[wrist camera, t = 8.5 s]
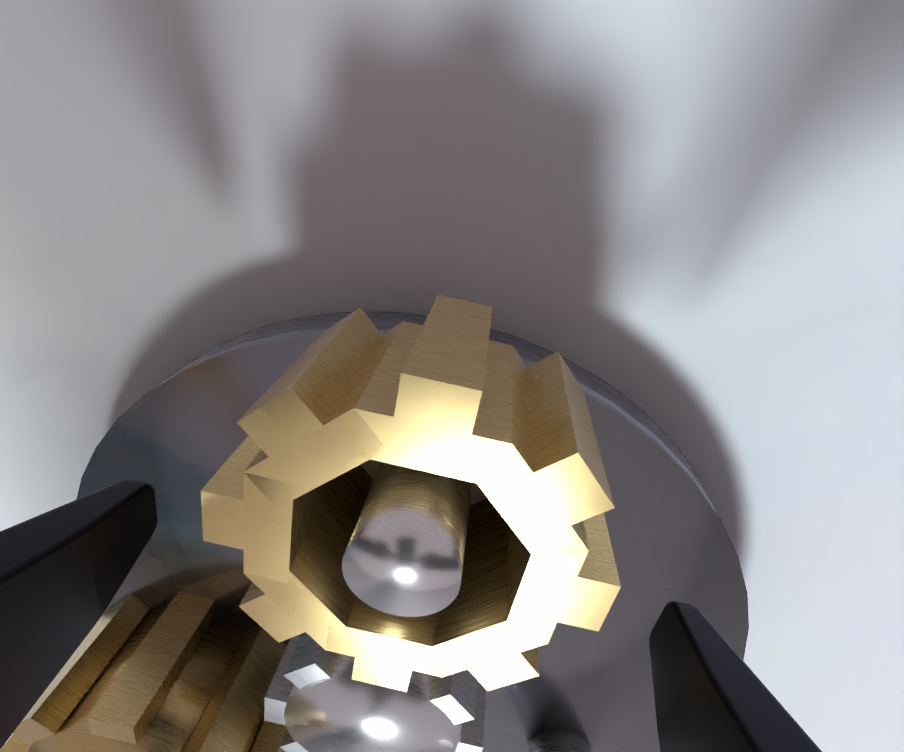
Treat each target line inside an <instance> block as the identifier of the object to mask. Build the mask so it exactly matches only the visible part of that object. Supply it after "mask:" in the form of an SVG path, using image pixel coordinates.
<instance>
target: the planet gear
mask: <svg viewBox="0 0 904 752" xmlns="http://www.w3.org/2000/svg"><path fill="white" fill-rule="evenodd" d="M492 310H493V307H492V306H488V305H483V304H479V303H474V302H470V301H465V300H460V299H456V298H451V297H447V296H442V295H438V294H437V297H436V299H435V301H434V303H433V305H432V307H431V310H430V312H429V314H428V316H427V318H426V320H425V322H424V325H418V324H414V323H409V322H405V321H403V322H401V323H400V324H398V325H397V326H395V327H393V328H392V329H390V330H389V331H387V332H385V333H384V334H382V335H381V333H380V332H379V331H378V329H377V328H376V327H375V325H374V324H373V323H372V321H371V320H370V319H369V317H368V316H367V315H366V313H365V312H364V311H363V309H362V308H361V307H360V308H359V309H357V310H356V311H354V312H353V313H351V314H350V315H348V316H347V317H345V318H344V319H342V320H341V321H339V322H338V323H336V324H335V325H333V326H332V327H330V328H329V329H327V330H326V331H324V332H323V333H321V334H320V335H319V336H318V337H317V338H316V339H315V340H314V341H313V342H312V343H311V344H310V345H309V346H308V348H307V349H306V350H305V351H304V352H303V353H302V354H301V355H300V356H299V357H298V358H297V359H296V360H295V361H294V362H293V363H292V364H291V365H290V367H289V368H288V369H287V370H286V371H285V372H284V373H283V374H282V375H281V376H280V377H279V378H278V379H277V380H276V381H275V382H274V383H273V384H272V386H271V387H270V388H269V389H268V390H267V391H266V392H265V393H264V394H263V395H262V396H261V397H260V398H259V399H258V400H257V401H256V402H255V403H254V405H253V406H252V407H251V408H250V409H249V410H248V411H247V412H246V413H245V414H244V415H243V416H242V417H241V418H240V419H239V420H238V421H237V423H238V424H239V426H240V427H241V428H242V429H243V430H244V431H245V432H246V433H247V434H248V437H247V438H246V439H245V440H244V441H243V442H242V443H241V445H240V446H239V447H238V448H237V449H236V450H235V452H234V453H233V454H232V455H231V456H230V457H229V458H228V460H227V461H226V462H225V463H224V464H223V465H222V467H221V468H220V469H219V470H218V471H217V472H216V473H215V475H214V476H213V477H212V478H211V479H210V480H209V481H208V483H207V484H206V485H205V486H204V487H203V488H202V490H201V509H202V528H203V541H207V542H211V543H215V544H220V545H224V546H228V547H233V548H237V549H242V550H243V556H244V574H245V575H246V576H247V577H248V578H249V579H250V580H251V581H252V584H251V586H250V587H249V589H248V591H247V592H246V594H245V596H244V598H243V599H242V601H241V603H240V605H239V607H240V608H241V609H242V610H243V611H244V612H245V613H247V614H248V615H249V616H250V617H251V618H252V619H253V620H254V621H255V622H257V623H258V624H259V625H260V626H261V627H262V628H263V629H264V630H265V631H266V632H268V633H269V634H270V635H271V636H272V637H273V638H274V639H275V640H276V641H278V642H282V641H284V640H287V639H289V638H292V637H294V636H297V635H299V634H302V633H304V632H306V633H307V634H308V635H310V636H311V637H312V638H313V639H314V640H315V641H316V642H317V643H318V644H319V645H320V646H321V647H322V648H323V649H324V650H326V651H331V652H335V653H339V654H344V655H348V656H352V657H355V660H354V667H353V673H352V680H357V681H361V682H365V683H370V684H374V685H378V686H382V687H387V688H391V689H395V690H400V691H404V692H407V689H408V685H409V681H410V677H411V673H412V670H413V671H417V672H421V673H425V674H430V675H434V676H438V677H445V676H448V675H451V674H454V673H458V672H461V671H464V670H468V671H469V672H470V673H471V674H472V675H473V676H474V677H475V678H476V679H477V680H478V681H479V682H480V683H481V685H482V686H483V687H484V688H485V689H486V690H487V691H490V690H494V689H497V688H500V687H504V686H507V685H510V684H514V683H517V682H521V681H524V680H527V679H531V678H534V677H537V676H539V656H538V647H539V646H542V645H545V644H548V642H549V640H550V638H551V635H552V633H553V631H554V629H555V626H556V624H557V622H559V623H563V624H568V625H572V626H576V627H581V628H585V629H589V630H594V631H599V629H600V627H601V625H602V624H603V622H604V620H605V618H606V616H607V614H608V612H609V610H610V608H611V606H612V604H613V602H614V600H615V598H616V596H617V594H618V592H619V590H620V588H621V585H620V580H619V576H618V572H617V567H616V563H615V559H614V555H613V550H612V546H611V542H610V537H609V533H608V529H607V524H606V520H605V516H604V512H606V511H609V510H611V509H613V508H615V507H614V503H613V499H612V496H611V492H610V488H609V484H608V480H607V477H606V473H605V469H604V465H603V462H602V458H601V454H600V450H599V446H598V443H597V439H596V435H595V431H594V428H593V424H592V420H591V416H590V412H589V409H588V405H587V401H586V397H585V394H584V392H583V390H582V388H581V387H580V385H579V384H578V382H577V380H576V379H575V377H574V376H573V374H572V372H571V371H570V369H569V368H568V366H567V364H566V363H565V361H564V360H563V358H562V356H561V355H560V353H559V352H558V351H557V352H555V353H553V354H551V355H550V356H548V357H546V358H544V359H542V360H540V361H538V362H536V363H535V364H533V365H531V366H529V367H527V366H526V364H525V363H524V361H523V360H522V358H521V357H520V355H519V354H518V352H517V351H516V349H515V348H514V346H513V345H508V344H504V343H499V342H495V341H490V340H489V334H490V326H491V318H492ZM370 459H371V460H375V461H380V462H384V463H388V464H393V465H397V466H402V467H406V468H411V469H415V470H419V471H424V472H428V473H433V474H437V475H441V476H446V477H450V478H455V479H459V480H464V481H468V482H472V483H477V485H478V486H479V487H480V488H481V490H482V491H483V492H484V494H485V495H486V496H487V497H488V498H486V499H484V500H481V501H479V502H477V503H475V504H473V505H470V510H469V519H468V527H467V535H466V544H465V552H464V561H463V569H462V578H461V585H460V590H459V592H458V595H457V596H456V598H455V599H454V600H453V602H452V603H451V604H450V605H448V606H447V607H446V608H444V609H442V610H441V611H438V612H436V613H433V614H430V615H426V616H420V617H403V616H396V615H391V614H388V613H385V612H382V611H379V610H377V609H375V608H373V607H371V606H369V605H368V604H366V603H365V602H363V601H362V600H360V599H359V598H358V597H357V596H356V595H355V594H354V593H353V592H352V591H351V589H350V588H349V586H348V585H347V583H346V581H345V579H344V576H343V572H342V559H343V556H344V553H345V551H346V548H347V546H348V543H349V541H350V538H351V536H352V533H353V531H354V528H355V526H356V523H357V521H358V518H359V516H360V513H361V511H362V508H363V506H364V503H365V501H366V498H367V496H368V493H369V491H370V488H371V486H372V483H373V481H374V480H373V479H372V478H371V476H370V475H369V474H368V473H367V472H366V471H365V469H364V468H363V467H362V466H361V465H360V464H362V463H364V462H366V461H368V460H370Z"/></svg>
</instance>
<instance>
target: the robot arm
mask: <svg viewBox="0 0 904 752" xmlns="http://www.w3.org/2000/svg"><path fill="white" fill-rule="evenodd" d="M157 522H158V515H157V506H156V498H155V490H154V487H153V486H152V485H151V484H149V483H146V482H141V481H137V480H132V479H127V480H123V481H121V482H118V483H116V484H113V485H111V486H109V487H106V488H104V489H101V490H99V491H97V492H94V493H92V494H89V495H87V496H85V497H82V498H80V499H77V500H75V501H73V502H70V503H68V504H65V505H63V506H60V507H58V508H56V509H53V510H51V511H48V512H46V513H44V514H41V515H39V516H36V517H34V518H32V519H29V520H27V521H24V522H22V523H20V524H17V525H15V526H12V527H10V528H8V529H5V530H3V531H0V749H1V748H2V747H3V745H4V744H5V743H6V741H7V740H8V739H9V737H10V736H11V735H12V733H13V732H14V731H15V729H16V728H17V727H18V726H19V724H20V723H21V722H22V720H23V719H24V718H25V716H26V715H27V714H28V712H29V711H30V710H31V708H32V707H33V706H34V705H35V703H36V702H37V701H38V699H39V698H40V697H41V695H42V694H43V693H44V691H45V690H46V689H47V687H48V686H49V685H50V684H51V682H52V681H53V680H54V678H55V677H56V676H57V674H58V673H59V672H60V670H61V669H62V668H63V666H64V665H65V664H66V663H67V661H68V660H69V659H70V657H71V656H72V655H73V653H74V652H75V651H76V649H77V648H78V647H79V645H80V644H81V643H82V642H83V640H84V639H85V638H86V636H87V635H88V634H89V632H90V631H91V630H92V628H93V627H94V626H95V624H96V623H97V622H98V620H99V619H100V617H101V616H102V615H103V613H104V612H105V610H106V609H107V607H108V605H109V604H110V602H111V601H112V599H113V598H114V596H115V594H116V593H117V591H118V590H119V588H120V586H121V585H122V583H123V582H124V580H125V578H126V577H127V575H128V574H129V572H130V570H131V569H132V567H133V566H134V564H135V562H136V561H137V559H138V557H139V556H140V554H141V553H142V551H143V549H144V548H145V546H146V545H147V543H148V541H149V540H150V538H151V537H152V535H153V533H154V531H155V529H156V526H157ZM649 648H650V659H651V669H652V680H653V690H654V701H655V711H656V722H657V731H658V739H659V746H660V752H822V751H821V750H820V749H819V748H818V747H817V745H816V744H815V743H814V742H813V741H812V740H811V739H810V737H809V736H808V735H807V734H806V733H805V732H804V730H803V729H802V728H801V727H800V726H799V725H798V724H797V722H796V721H795V720H794V719H793V718H792V717H791V715H790V714H789V713H788V712H787V711H786V710H785V709H784V707H783V706H782V705H781V704H780V703H779V702H778V701H777V699H776V698H775V697H774V696H773V695H772V694H771V692H770V691H769V690H768V689H767V688H766V687H765V686H764V684H763V683H762V682H761V681H760V680H759V679H758V677H757V676H756V675H755V674H754V673H753V672H752V671H751V669H750V668H749V667H748V666H747V665H746V664H745V663H744V661H743V660H742V659H741V658H740V657H739V656H738V654H737V653H736V652H735V651H734V650H733V649H732V648H731V646H730V645H729V644H728V643H727V642H726V641H725V639H724V638H723V637H722V636H721V635H720V634H719V633H718V631H717V630H716V629H715V628H714V627H713V626H712V625H711V623H710V622H709V621H708V620H707V619H706V618H705V616H704V615H703V614H702V613H701V612H700V611H699V610H698V609H697V608H696V607H694V606H692V605H689V604H684V603H680V602H675V601H670V602H669V603H667V604H666V606H665V607H664V609H663V611H662V613H661V614H660V616H659V618H658V620H657V621H656V623H655V625H654V627H653V628H652V631H651V633H650V638H649Z"/></svg>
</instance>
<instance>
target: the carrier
mask: <svg viewBox="0 0 904 752" xmlns="http://www.w3.org/2000/svg"><path fill="white" fill-rule="evenodd" d="M351 313H353V312H347V313H337V314H327V315H318V316H308V317H303V318H299V319H294V320H290V321H286V322H282V323H278V324H274V325H270V326H266V327H262V328H259V329H256V330H254V331H251V332H249V333H246V334H244V335H242V336H239V337H237V338H234V339H232V340H229V341H227V342H224V343H222V344H220V345H218V346H216V347H215V348H213V349H211V350H210V351H208V352H207V353H205V354H203V355H202V356H200V357H198V358H197V359H195V360H193V361H192V362H190V363H189V364H187V365H185V366H184V367H183V368H181V369H180V370H178V371H177V372H176V373H174V374H173V375H171V376H170V377H169V378H167V379H166V380H164V381H163V382H162V383H160V384H159V385H157V386H156V387H155V388H153V389H152V390H151V391H149V392H148V393H147V394H145V395H144V396H143V397H142V398H141V399H140V400H139V401H138V402H136V403H135V404H134V405H133V406H132V407H131V408H130V409H129V410H127V411H126V412H125V413H124V414H123V415H122V416H121V417H119V418H118V419H117V421H116V422H115V423H114V425H113V426H112V427H111V429H110V430H109V431H108V433H107V434H106V435H105V437H104V438H103V439H102V441H101V442H100V443H99V444H98V446H97V447H96V449H95V451H94V453H93V455H92V457H91V460H90V462H89V464H88V466H87V468H86V470H85V472H84V474H83V476H82V479H81V483H80V487H79V492H78V496H77V499H80V498H82V497H85V496H87V495H89V494H92V493H94V492H97V491H99V490H101V489H104V488H106V487H109V486H111V485H113V484H116V483H118V482H121V481H123V480H127V479H132V480H137V481H141V482H146V483H149V484H151V485H152V486H153V487H154V490H155V498H156V506H157V515H158V522H157V526H156V529H155V531H154V533H153V535H152V537H151V538H150V540H149V541H148V543H147V545H146V546H145V548H144V549H143V551H142V553H141V554H140V556H139V557H138V559H137V561H136V562H135V564H134V566H133V567H132V569H131V570H130V572H129V574H128V575H127V577H126V578H125V580H124V582H123V583H122V585H121V586H120V588H119V590H118V591H117V593H116V594H115V596H114V598H113V599H112V601H111V602H110V604H109V605H108V607H107V609H106V610H105V612H104V613H103V615H102V616H101V617H100V619H99V620H98V622H97V623H96V624H95V626H94V627H93V628H92V630H91V631H90V632H89V634H88V635H87V636H86V638H85V639H84V640H83V642H82V643H81V644H80V645H79V647H78V648H77V649H76V651H75V652H74V653H73V655H72V656H71V657H70V659H69V660H68V661H67V663H66V664H65V665H64V666H63V668H62V669H61V670H60V672H59V673H58V674H57V676H56V677H55V678H54V680H53V681H52V682H51V684H50V685H49V686H48V687H47V689H46V690H45V691H44V693H43V694H42V695H41V697H40V698H39V699H38V701H37V702H36V703H35V705H34V706H33V707H32V708H31V710H30V711H29V712H28V714H27V715H26V716H25V718H24V719H23V720H22V722H21V723H20V724H19V726H18V727H17V728H16V729H15V731H14V732H13V733H14V734H13V735H12V736H11V738H10V739H9V740H8V741H7V742H6V744H5V745H4V746H3V747H2V748H1V750H0V752H660V746H659V739H658V731H657V722H656V711H655V701H654V690H653V680H652V669H651V659H650V648H649V638H650V633H651V631H652V628H653V627H654V625H655V623H656V621H657V620H658V618H659V616H660V614H661V613H662V611H663V609H664V607H665V606H666V604H667V603H669V602H670V601H675V602H680V603H684V604H689V605H692V606H694V607H696V608H697V609H698V610H699V611H700V612H701V613H702V614H703V615H704V616H705V618H706V619H707V620H708V621H709V622H710V623H711V625H712V626H713V627H714V628H715V629H716V630H717V631H718V633H719V634H720V635H721V636H722V637H723V638H724V639H725V641H726V642H727V643H728V644H729V645H730V646H731V648H732V649H733V650H734V651H735V652H736V653H737V654H738V656H739V657H740V658H741V659H742V660H743V659H744V653H745V647H746V641H747V635H748V629H749V624H748V600H747V590H746V586H745V582H744V578H743V574H742V571H741V567H740V563H739V559H738V556H737V554H736V551H735V549H734V547H733V545H732V543H731V541H730V539H729V536H728V534H727V532H726V530H725V528H724V526H723V524H722V522H721V519H720V518H719V516H718V514H717V512H716V510H715V508H714V506H713V504H712V502H711V500H710V499H709V497H708V495H707V493H706V491H705V489H704V487H703V485H702V483H701V482H700V480H699V478H698V477H697V475H696V474H695V472H694V471H693V469H692V468H691V466H690V465H689V464H688V462H687V461H686V459H685V458H684V456H683V455H682V454H681V452H680V451H679V449H678V448H677V446H676V445H675V444H674V443H673V442H672V441H671V440H670V439H669V438H668V436H667V435H666V434H665V433H664V432H663V431H662V430H661V429H660V428H659V427H658V426H657V425H656V424H655V423H654V422H653V421H652V420H651V419H650V418H649V417H648V416H647V415H646V414H645V412H643V411H642V410H641V409H640V408H638V407H637V406H636V405H634V404H633V403H632V402H631V401H629V400H628V399H627V398H625V397H624V396H623V395H622V394H620V393H619V392H618V391H616V390H615V389H614V388H613V387H611V386H610V385H609V384H608V383H606V382H605V381H603V380H601V379H599V378H598V377H596V376H594V375H593V374H591V373H589V372H587V371H586V370H584V369H582V368H581V367H579V366H577V365H575V364H574V363H572V362H570V361H569V360H567V359H565V358H563V357H562V358H563V360H564V361H565V363H566V364H567V366H568V368H569V369H570V371H571V372H572V374H573V376H574V377H575V379H576V380H577V382H578V384H579V385H580V387H581V388H582V390H583V392H584V394H585V397H586V401H587V405H588V409H589V412H590V416H591V420H592V424H593V428H594V431H595V435H596V439H597V443H598V446H599V450H600V454H601V458H602V462H603V465H604V469H605V473H606V477H607V480H608V484H609V488H610V492H611V496H612V499H613V503H614V507H615V508H613V509H611V510H609V511H606V512H604V516H605V520H606V524H607V529H608V533H609V537H610V542H611V546H612V550H613V555H614V559H615V563H616V567H617V572H618V576H619V580H620V585H621V588H620V590H619V592H618V594H617V596H616V598H615V600H614V602H613V604H612V606H611V608H610V610H609V612H608V614H607V616H606V618H605V620H604V622H603V624H602V625H601V627H600V629H599V631H594V630H589V629H585V628H581V627H576V626H572V625H568V624H563V623H559V622H557V624H556V626H555V629H554V631H553V633H552V635H551V638H550V640H549V642H548V644H545V645H542V646H539V647H538V656H539V676H537V677H534V678H531V679H527V680H524V681H521V682H517V683H514V684H510V685H507V686H504V687H500V688H497V689H494V690H490V691H487V690H486V689H485V688H484V687H483V686H482V685H481V683H480V682H479V681H478V680H477V679H476V678H475V677H474V676H473V675H472V674H471V673H470V672H469V671H468V670H464V671H461V672H458V673H454V674H451V675H448V676H445V677H438V676H434V675H430V674H425V673H421V672H417V671H413V670H412V673H411V677H410V681H409V685H408V689H407V692H404V691H400V690H395V689H391V688H387V687H382V686H378V685H374V684H370V683H365V682H361V681H357V680H352V673H353V667H354V660H355V657H352V656H348V655H344V654H339V653H335V652H331V651H326V650H324V649H323V648H322V647H321V646H320V645H319V644H318V643H317V642H316V641H315V640H314V639H313V638H312V637H311V636H310V635H308V634H307V633H306V632H304V633H302V634H299V635H297V636H294V637H292V638H289V639H287V640H284V641H282V642H278V641H276V640H275V639H274V638H273V637H272V636H271V635H270V634H269V633H268V632H266V631H265V630H264V629H263V628H262V627H261V626H260V625H259V624H258V623H257V622H255V621H254V620H253V619H252V618H251V617H250V616H249V615H248V614H247V613H245V612H244V611H243V610H242V609H241V608H240V607H239V605H240V603H241V601H242V599H243V598H244V596H245V594H246V592H247V591H248V589H249V587H250V586H251V584H252V581H251V580H250V579H249V578H248V577H247V576H246V575H245V574H244V556H243V550H242V549H237V548H233V547H228V546H224V545H220V544H215V543H211V542H207V541H203V528H202V509H201V490H202V488H203V487H204V486H205V485H206V484H207V483H208V481H209V480H210V479H211V478H212V477H213V476H214V475H215V473H216V472H217V471H218V470H219V469H220V468H221V467H222V465H223V464H224V463H225V462H226V461H227V460H228V458H229V457H230V456H231V455H232V454H233V453H234V452H235V450H236V449H237V448H238V447H239V446H240V445H241V443H242V442H243V441H244V440H245V439H246V438H247V437H248V434H247V433H246V432H245V431H244V430H243V429H242V428H241V427H240V426H239V424H238V423H237V421H238V420H239V419H240V418H241V417H242V416H243V415H244V414H245V413H246V412H247V411H248V410H249V409H250V408H251V407H252V406H253V405H254V403H255V402H256V401H257V400H258V399H259V398H260V397H261V396H262V395H263V394H264V393H265V392H266V391H267V390H268V389H269V388H270V387H271V386H272V384H273V383H274V382H275V381H276V380H277V379H278V378H279V377H280V376H281V375H282V374H283V373H284V372H285V371H286V370H287V369H288V368H289V367H290V365H291V364H292V363H293V362H294V361H295V360H296V359H297V358H298V357H299V356H300V355H301V354H302V353H303V352H304V351H305V350H306V349H307V348H308V346H309V345H310V344H311V343H312V342H313V341H314V340H315V339H316V338H317V337H318V336H319V335H320V334H321V333H323V332H324V331H326V330H327V329H329V328H330V327H332V326H333V325H335V324H336V323H338V322H339V321H341V320H342V319H344V318H345V317H347V316H348V315H350V314H351ZM365 313H366V315H367V316H368V317H369V319H370V320H371V321H372V323H373V324H374V325H375V327H376V328H377V329H378V331H379V332H380V333H381V335H382V334H384V333H385V332H387V331H389V330H390V329H392V328H393V327H395V326H397V325H398V324H400V323H401V322H403V321H405V322H409V323H414V324H418V325H424V322H425V320H426V318H427V316H424V315H418V314H411V313H389V312H365ZM489 340H490V341H495V342H499V343H504V344H508V345H513V346H514V348H515V349H516V351H517V352H518V354H519V355H520V357H521V358H522V360H523V361H524V363H525V364H526V366H527V367H529V366H531V365H533V364H535V363H536V362H538V361H540V360H542V359H544V358H546V357H548V356H550V355H551V354H553V353H552V352H550V351H548V350H545V349H543V348H540V347H538V346H536V345H533V344H531V343H529V342H526V341H524V340H522V339H519V338H517V337H514V336H512V335H508V334H505V333H501V332H498V331H494V330H490V334H489ZM360 465H361V466H362V467H363V468H364V469H365V471H366V472H367V473H368V474H369V475H370V476H371V478H372V479H373V480H374V481H373V483H372V486H371V488H370V491H369V493H368V496H367V498H366V501H365V503H364V506H363V508H362V511H361V513H360V516H359V518H358V521H357V523H356V526H355V528H354V531H353V533H352V536H351V538H350V541H349V543H348V546H347V548H346V551H345V553H344V556H343V559H342V572H343V576H344V579H345V581H346V583H347V585H348V586H349V588H350V589H351V591H352V592H353V593H354V594H355V595H356V596H357V597H358V598H359V599H360V600H362V601H363V602H365V603H366V604H368V605H369V606H371V607H373V608H375V609H377V610H379V611H382V612H385V613H388V614H391V615H396V616H403V617H420V616H426V615H430V614H433V613H436V612H438V611H441V610H442V609H444V608H446V607H447V606H448V605H450V604H451V603H452V602H453V600H454V599H455V598H456V596H457V595H458V592H459V590H460V585H461V578H462V569H463V561H464V552H465V544H466V535H467V527H468V519H469V510H470V505H473V504H475V503H477V502H479V501H481V500H484V499H486V498H488V497H487V496H486V495H485V494H484V492H483V491H482V490H481V488H480V487H479V486H478V485H477V483H472V482H468V481H464V480H459V479H455V478H450V477H446V476H441V475H437V474H433V473H428V472H424V471H419V470H415V469H411V468H406V467H402V466H397V465H393V464H388V463H384V462H380V461H375V460H371V459H370V460H368V461H366V462H364V463H362V464H360Z"/></svg>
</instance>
